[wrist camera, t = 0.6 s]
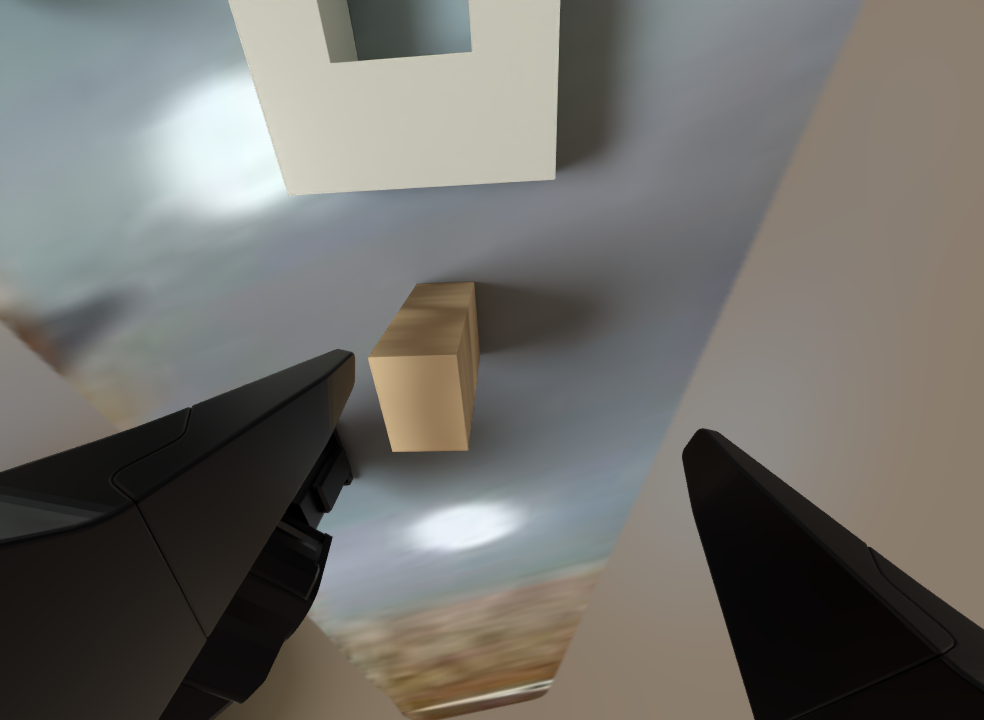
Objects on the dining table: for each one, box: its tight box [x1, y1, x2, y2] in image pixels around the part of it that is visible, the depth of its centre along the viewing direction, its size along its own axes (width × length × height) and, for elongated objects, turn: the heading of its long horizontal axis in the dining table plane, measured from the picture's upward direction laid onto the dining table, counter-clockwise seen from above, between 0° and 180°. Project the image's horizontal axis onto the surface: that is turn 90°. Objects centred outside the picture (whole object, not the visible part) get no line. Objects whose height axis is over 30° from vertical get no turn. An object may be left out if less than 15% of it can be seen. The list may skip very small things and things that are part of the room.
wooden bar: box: [368, 282, 480, 452], centre depth 19 cm, size 4×5×9 cm
